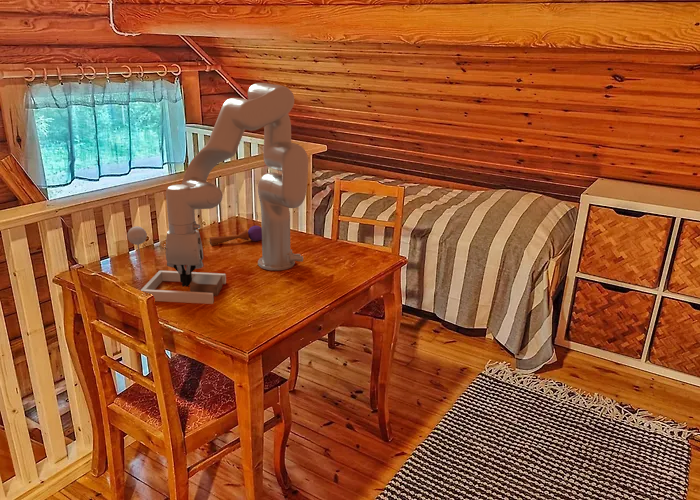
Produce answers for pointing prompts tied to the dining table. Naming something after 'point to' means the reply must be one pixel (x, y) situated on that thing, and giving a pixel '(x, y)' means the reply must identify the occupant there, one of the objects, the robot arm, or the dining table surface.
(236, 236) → the kendama
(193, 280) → the walnut block
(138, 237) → the lollipop
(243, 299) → the dining table surface
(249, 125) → the robot arm
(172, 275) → the u-shaped grey frame
